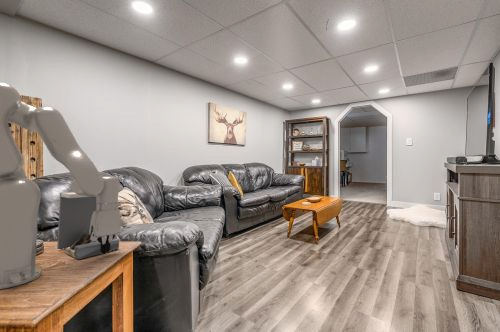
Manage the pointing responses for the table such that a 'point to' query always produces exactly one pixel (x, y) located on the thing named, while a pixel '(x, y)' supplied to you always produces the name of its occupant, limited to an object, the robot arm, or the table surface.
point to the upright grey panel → (74, 217)
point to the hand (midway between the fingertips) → (105, 252)
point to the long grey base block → (90, 249)
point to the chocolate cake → (82, 240)
